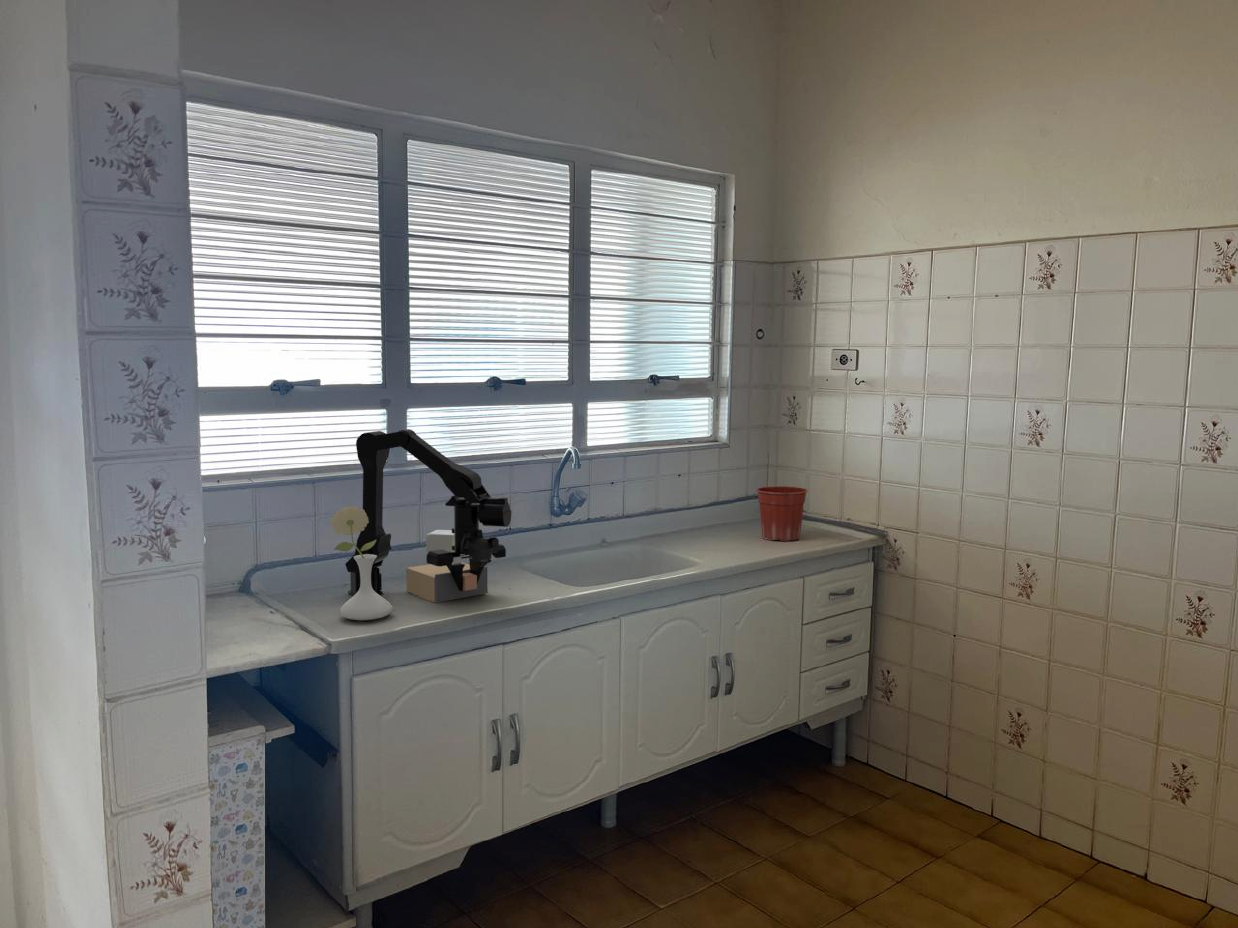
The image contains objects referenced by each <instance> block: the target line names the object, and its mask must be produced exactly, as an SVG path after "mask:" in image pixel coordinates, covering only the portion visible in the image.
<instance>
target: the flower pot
mask: <svg viewBox="0 0 1238 928" xmlns="http://www.w3.org/2000/svg"><path fill="white" fill-rule="evenodd" d="M755 491H756V492H757V498H758V504H759V513H760V526H761V538H763V537H764V538H767V539H771V540H770V541H772V540H776V541H781V542H791V541H790V540H795V541H797V539H798V540H799V539H801V532H802V523H803V522H802V521H803V514H804V504H805V502H806V496H807V493H808V491H809V489H807V488H803V487H799V486H784V485H783V486H782V485H781V486H776V485H775V486H763V487H762V486H761V487H760V486H759V487H757V488H755ZM764 538H763V539H764ZM788 540H789V541H788Z"/></svg>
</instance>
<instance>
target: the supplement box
mask: <svg viewBox="0 0 1238 928" xmlns="http://www.w3.org/2000/svg"><path fill="white" fill-rule="evenodd" d="M425 544H426V545H425V546H426V547H425V548H426V549H425V552H426V556H427V554H428V552H429V551H434V550H445V551H449V552H455V551H454V550H452V546H454V545H455V533H452V529H435V530H434V531H431V532H429V533H427V534H425ZM426 556H425V557H426ZM425 561H426V564H425V565H429V563H427V559H426V560H425ZM461 562H462V563H463V559H461Z"/></svg>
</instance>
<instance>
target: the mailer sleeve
mask: <svg viewBox="0 0 1238 928" xmlns="http://www.w3.org/2000/svg"><path fill="white" fill-rule="evenodd" d="M461 563H462V564H465V566H464V568H463V570H468V569H470V564H468V563H465V562H463V561H462V562H461ZM405 569H406V570H405V571H406V592H407V593H409V592H410V593H409V594H411V593H412V595H414V596H416V595H417V597H420V598H423V599H424V600H427V601H430V602H432V603H435V604H436V603H439V602H442V601H438V602H436V601H435V574H442V573H448V572H450V571H449V569H448V567H447V566H435V565H432V564H429V565H426V564H423V565H418V566H410V567H406V568H405ZM486 594H487V593H484V594H478V595H473V596H472V597H475V596H480V595H486ZM468 597H469V598H470V597H471V596H467V597H466V598H468ZM464 598H465V597H461V598H455V599H449V600H444V601H443V602H445V601H452V600H453V601H454V600H458V599H464Z"/></svg>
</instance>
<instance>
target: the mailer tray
mask: <svg viewBox="0 0 1238 928" xmlns="http://www.w3.org/2000/svg"><path fill="white" fill-rule="evenodd" d="M488 589H489V587H488V566H484V568H483V570H482V572H481V575H480V578H479V581H478V584H477V575H474V574H471V573H470V569H468V570H463V591H459V589H458V587H457V585H456V583H455V581H454V578H453V576H452V574H451V572H448V573H442V574H435V601H436V603H439V602H438V601H441V602H445V601H444V600H447V601H450V600H449V599H453V600H456V599H455V598H459V599H462V598H461V597H464V598H468V597H467V596H470V597H474V596H473V595H476V596H479V595H478V594H482V595H485V594H484V593H486V594H487V593H488Z"/></svg>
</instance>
